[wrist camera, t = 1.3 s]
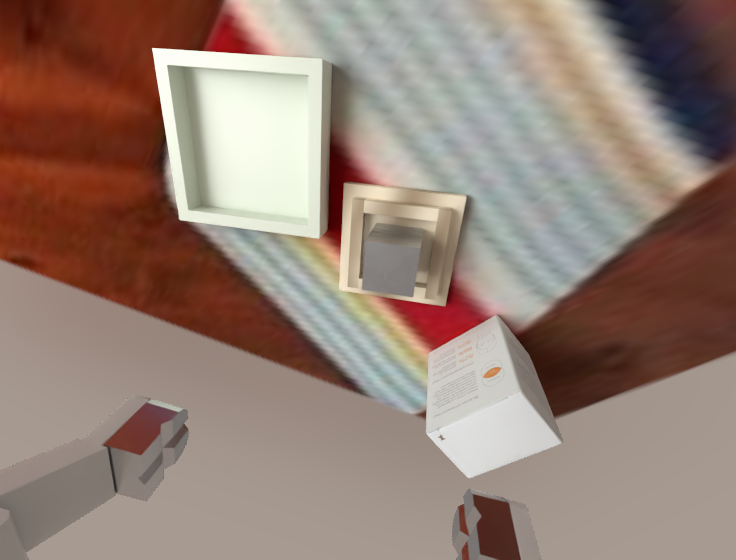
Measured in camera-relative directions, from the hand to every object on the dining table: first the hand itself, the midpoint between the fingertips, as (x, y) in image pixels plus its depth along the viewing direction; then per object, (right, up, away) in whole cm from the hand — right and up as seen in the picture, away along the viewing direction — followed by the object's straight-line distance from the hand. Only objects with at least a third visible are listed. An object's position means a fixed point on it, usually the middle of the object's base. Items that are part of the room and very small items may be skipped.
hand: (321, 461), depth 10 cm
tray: (-8, +16, +20) cm, 27 cm away
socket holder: (+4, +8, +21) cm, 23 cm away
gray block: (+4, +8, +21) cm, 23 cm away
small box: (+12, -2, +25) cm, 28 cm away
